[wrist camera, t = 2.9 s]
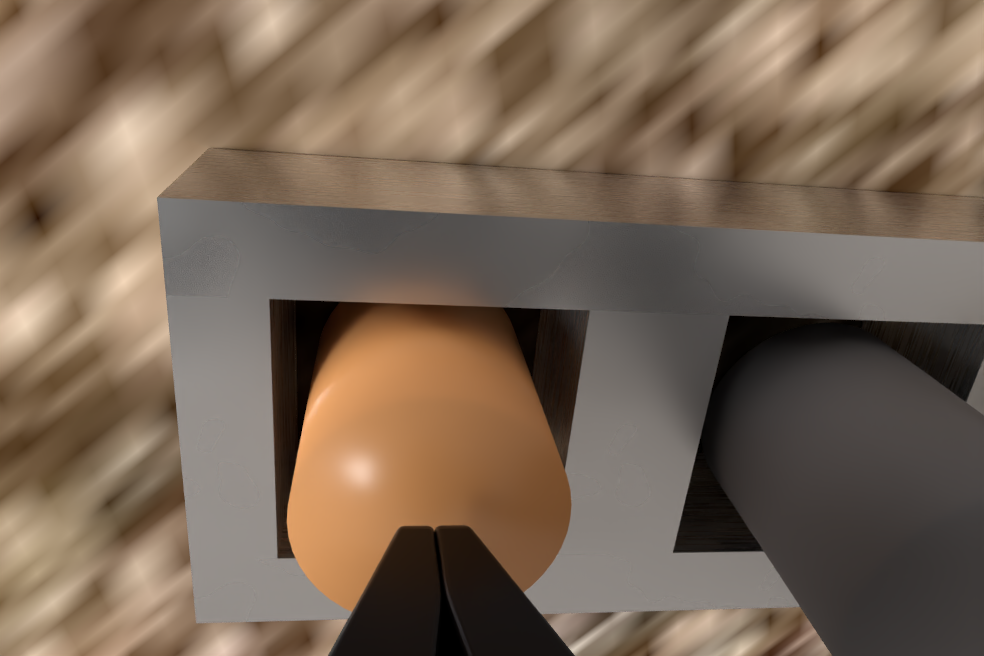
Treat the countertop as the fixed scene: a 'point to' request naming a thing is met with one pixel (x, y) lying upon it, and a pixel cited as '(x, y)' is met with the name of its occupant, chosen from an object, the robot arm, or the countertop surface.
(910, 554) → the button charcoal
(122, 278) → the countertop surface
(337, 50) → the countertop surface
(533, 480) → the button orange
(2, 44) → the countertop surface
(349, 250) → the button strip
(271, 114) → the countertop surface
